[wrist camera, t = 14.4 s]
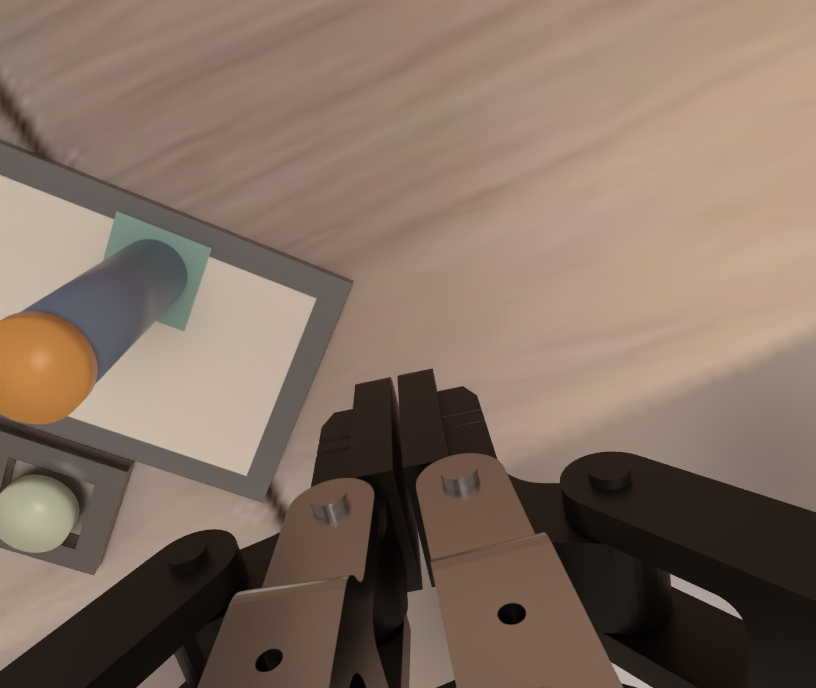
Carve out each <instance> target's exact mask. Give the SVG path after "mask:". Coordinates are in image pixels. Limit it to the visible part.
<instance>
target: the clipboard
mask: <svg viewBox="0 0 816 688" xmlns="http://www.w3.org/2000/svg"><path fill="white" fill-rule="evenodd" d="M143 239H153V240H158V241H161V242H164V243H166V244H168V245H169V246H171V247H172V248H173V249H175V250H176V251H177V252H178V254H179V255H180V256H181V258H182V259H183V261H184V263H185V266H186V269H187V283H186V287H185V289H184V291H183V293H182V294H181V295H180V296H179V297H178V298H177V299H176V300H175V301H174V303H173V304H172V305H171V306H170V307H169V308H168V309H167V310H166V311H165V312H164V313H163V314H162V315H161V316H160V317H159V318H158V319H157V320H156V321H155V322H154V323H153V324H152V325H151V327H150V328H149V329H148V330H147V331H146V332H145V333H144V334H143V335H142V336H141V337H140V338H139V339H138V340H137V341H136V342H135V343H134V344H133V345H132V346H131V347H130V348H129V350H128V351H127V352H126V353H125V354H124V355H123V356H122V357H121V358H120V359H119V360H118V361H117V362H116V363H115V364H114V365H113V366H112V367H111V368H110V369H109V370H108V371H107V372H106V374H105V375H104V376H103V377H102V378H101V379H100V380H99V381H98V382H97V383H96V384H95V385H94V388H93V389H92V391H91V393H90V394H89V395H88V397H87V398H86V399H85V400H84V401H83V402H82V403H81V404H80V405H79V406H78V407H77V408H76V409H75V410H74V411H73V412H72V413H71V414H70V415H68V416H67V417H65V418H63V419H61V420H59V421H56V422H53V423H48V424H27V423H22V422H19V423H22V424H25V425H28V426H31V427H34V428H37V429H40V430H43V431H46V432H49V433H52V434H55V435H58V436H61V437H64V438H67V439H70V440H73V441H77V442H80V443H83V444H86V445H89V446H92V447H95V448H98V449H101V450H104V451H107V452H110V453H113V454H116V455H119V456H122V457H125V458H128V459H131V460H134V461H137V462H140V463H143V464H147V465H150V466H153V467H156V468H159V469H162V470H165V471H168V472H171V473H174V474H177V475H180V476H183V477H186V478H189V479H192V480H195V481H198V482H201V483H204V484H207V485H210V486H214V487H217V488H220V489H223V490H226V491H229V492H232V493H235V494H238V495H241V496H244V497H247V498H250V499H253V500H256V501H259V502H262V503H263V500H264V498H265V495H266V493H267V491H268V488H269V486H270V483H271V481H272V478H273V476H274V474H275V471H276V469H277V466H278V464H279V461H280V459H281V457H282V454H283V452H284V449H285V447H286V444H287V442H288V439H289V437H290V435H291V432H292V430H293V427H294V425H295V422H296V420H297V418H298V415H299V413H300V410H301V408H302V405H303V403H304V401H305V398H306V396H307V393H308V391H309V388H310V386H311V384H312V381H313V379H314V376H315V374H316V371H317V369H318V367H319V364H320V362H321V359H322V357H323V354H324V352H325V350H326V347H327V345H328V342H329V340H330V337H331V335H332V333H333V330H334V328H335V325H336V323H337V320H338V318H339V316H340V313H341V311H342V308H343V306H344V303H345V301H346V299H347V296H348V294H349V291H350V289H351V286H352V284H353V281H352V280H349V279H347V278H344V277H342V276H339V275H337V274H334V273H332V272H329V271H327V270H324V269H322V268H319V267H317V266H314V265H312V264H309V263H307V262H304V261H302V260H299V259H297V258H294V257H292V256H289V255H287V254H284V253H282V252H279V251H277V250H274V249H272V248H269V247H267V246H264V245H262V244H259V243H257V242H254V241H252V240H249V239H247V238H244V237H242V236H239V235H237V234H234V233H232V232H229V231H227V230H224V229H222V228H219V227H217V226H214V225H212V224H209V223H207V222H204V221H202V220H199V219H197V218H194V217H192V216H189V215H187V214H184V213H182V212H179V211H177V210H174V209H172V208H169V207H167V206H164V205H162V204H159V203H157V202H154V201H152V200H149V199H147V198H144V197H142V196H139V195H137V194H134V193H132V192H129V191H127V190H124V189H122V188H119V187H117V186H114V185H112V184H109V183H107V182H104V181H102V180H99V179H97V178H94V177H92V176H89V175H87V174H84V173H82V172H79V171H77V170H74V169H72V168H69V167H67V166H64V165H62V164H59V163H57V162H54V161H52V160H49V159H47V158H44V157H42V156H39V155H37V154H34V153H32V152H29V151H27V150H24V149H22V148H19V147H17V146H14V145H12V144H9V143H7V142H4V141H2V140H0V320H2V319H4V318H6V317H7V316H9V315H12V314H15V313H19V312H21V311H23V310H24V309H26V308H27V307H29V306H31V305H32V304H34V303H36V302H37V301H39V300H40V299H42V298H44V297H45V296H47V295H49V294H50V293H52V292H53V291H55V290H57V289H58V288H60V287H62V286H63V285H65V284H66V283H68V282H70V281H71V280H73V279H75V278H76V277H78V276H79V275H81V274H83V273H84V272H86V271H87V270H89V269H91V268H92V267H94V266H96V265H97V264H99V263H100V262H102V261H104V260H105V259H107V258H109V257H110V256H112V255H113V254H115V253H117V252H118V251H120V250H122V249H123V248H125V247H126V246H128V245H130V244H131V243H133V242H136V241H138V240H143ZM0 417H3V418H7V417H5V416H3V415H1V414H0ZM7 419H9V418H7ZM10 420H12V419H10ZM13 421H15V420H13ZM16 422H18V421H16Z"/></svg>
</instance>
